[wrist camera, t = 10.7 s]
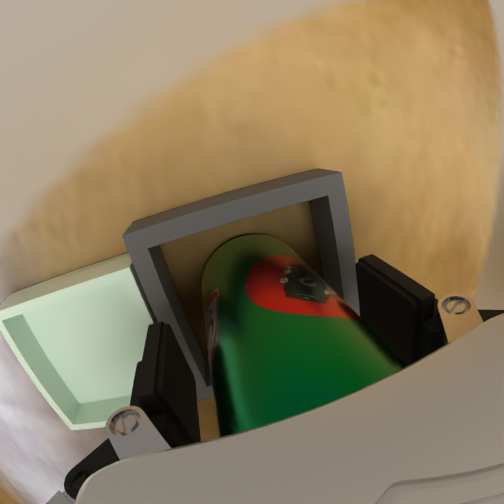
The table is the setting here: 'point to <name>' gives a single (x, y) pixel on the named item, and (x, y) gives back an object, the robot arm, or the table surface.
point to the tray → (81, 338)
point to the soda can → (281, 336)
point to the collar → (230, 210)
